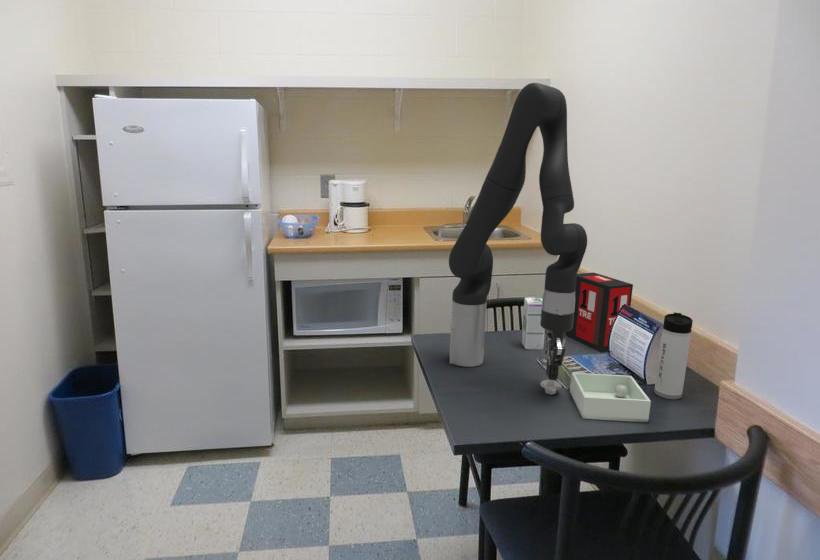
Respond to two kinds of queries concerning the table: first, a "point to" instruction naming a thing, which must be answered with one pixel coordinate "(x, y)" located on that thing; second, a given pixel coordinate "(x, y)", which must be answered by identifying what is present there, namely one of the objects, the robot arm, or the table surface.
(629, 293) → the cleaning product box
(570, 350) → the table surface
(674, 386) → the travel mug
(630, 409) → the tub
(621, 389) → the pebble
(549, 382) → the screw
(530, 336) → the syrup box
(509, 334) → the table surface
